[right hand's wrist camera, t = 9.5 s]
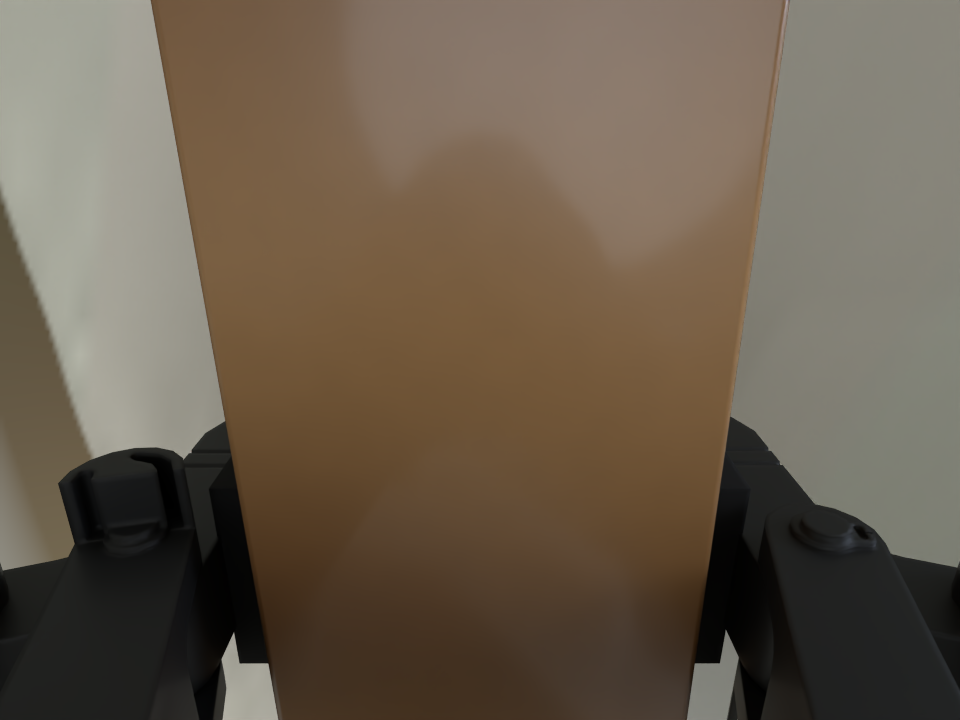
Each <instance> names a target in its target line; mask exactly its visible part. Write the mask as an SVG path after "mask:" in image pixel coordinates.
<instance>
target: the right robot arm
mask: <svg viewBox="0 0 960 720" xmlns="http://www.w3.org/2000/svg"><path fill="white" fill-rule="evenodd" d="M58 485H59V488H60V492H61V496H62V499H63V503H64V506H65V510H66V514H67V517H68V521H69V525H70V528H71V532H72V535H73V539H74V543H75V545H74V547H73V549H72V551H71V553H70V555H69V557H67V558H63V559H59V560H55V561H50V562H45V563H40V564H34V565H30V566H24V567H20V568H14V569H9V570H4V571H3V570H2V567H1V564H0V720H222V719H223V711H224V703H225V695H226V683H225V676H224V670H223V665H222V660H221V659H222V657H223V655H224V652H225V650H226V648H227V646H228V644H229V641H230V639H231V637H232V635H233V633H234V634H235V640H236V645H237V651H238V656H239V662H240V663H268V658H267V652H266V647H265V641H264V635H263V630H262V624H261V618H260V613H259V607H258V602H257V596H256V590H255V585H254V579H253V573H252V568H251V562H250V556H249V551H248V545H247V540H246V534H245V528H244V523H243V517H242V511H241V506H240V500H239V494H238V489H237V483H236V478H235V472H234V466H233V461H232V455H231V449H230V444H229V438H228V432H227V427H226V421H225V422H223V423H222V424H220V425H218V426H217V427H215V428H213V429H212V430H210V431H208V432H207V433H205V434H204V436H203V437H202V438H201V439H200V440H199V442H198V443H197V444H196V445H195V447H194V448H193V449H192V453H189V454H188V455H187V456H186V458H185V459H184V460H183V458H182V457H181V456H179V455H178V454H177V453H175V452H174V451H171V450H166V449H161V448H133V449H128V450H123V451H117V452H112V453H109V454H106V455H104V456H101V457H98V458H95V459H92V460H89V461H88V462H86V463H84V464H82V465H80V466H79V467H77V468H75V469H73V470H72V471H70V472H69V473H68V474H67V475H66V476H65V477H64V478H63V479H62V480H61V481H60V482H59V483H58ZM726 630H727V633H728V635H729V637H730V639H731V641H732V643H733V646H734V648H735V650H736V652H737V654H738V656H739V660H738V665H737V670H736V675H735V681H734V686H733V691H732V696H731V701H730V707H729V712H728V717H727V720H737V719H738V720H960V562H959V565H958V568H956V567H951V566H946V565H941V564H936V563H931V562H926V561H920V560H915V559H910V558H905V557H901V556H897V555H893V554H891V553H890V551H889V549H888V547H887V545H886V543H885V542H884V541H883V540H882V538H881V537H880V536H879V535H878V534H877V532H876V531H875V530H874V529H872V528H871V527H869V526H868V525H866V524H865V523H863V522H862V521H860V520H859V519H858V518H856V517H853V516H851V515H849V514H846V513H844V512H841V511H839V510H836V509H833V508H829V507H824V506H820V505H815V504H814V503H813V501H812V500H811V499H810V498H809V497H808V495H807V494H806V493H805V492H804V491H803V489H802V488H801V487H800V486H799V484H798V483H797V482H796V481H795V480H794V478H793V477H792V476H791V475H790V474H789V472H788V471H787V470H786V469H785V467H784V466H783V465H780V461H779V460H778V459H777V458H776V456H775V455H774V454H773V453H772V452H771V451H768V447H767V446H766V444H765V443H764V442H763V441H762V439H761V438H760V437H759V436H758V435H757V433H756V432H755V431H754V430H752V429H750V428H749V427H747V426H745V425H744V424H742V423H740V422H739V421H737V420H735V419H734V418H732V417H730V421H729V428H728V435H727V442H726V449H725V456H724V463H723V470H722V477H721V484H720V491H719V498H718V505H717V512H716V519H715V526H714V533H713V540H712V547H711V553H710V560H709V567H708V574H707V581H706V588H705V595H704V602H703V609H702V616H701V623H700V630H699V637H698V644H697V651H696V658H695V663H720V659H721V654H722V648H723V642H724V637H725V631H726Z"/></svg>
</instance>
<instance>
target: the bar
mask: <svg viewBox="0 0 960 720" xmlns="http://www.w3.org/2000/svg"><path fill="white" fill-rule="evenodd" d="M789 3H790V0H151V4H152V10H153V15H154V21H155V27H156V32H157V38H158V43H159V49H160V55H161V60H162V66H163V72H164V77H165V83H166V89H167V94H168V100H169V105H170V111H171V117H172V122H173V128H174V134H175V139H176V145H177V151H178V156H179V162H180V167H181V173H182V179H183V184H184V190H185V196H186V201H187V207H188V213H189V218H190V224H191V230H192V235H193V241H194V246H195V252H196V258H197V263H198V269H199V275H200V280H201V286H202V292H203V297H204V303H205V308H206V314H207V320H208V325H209V331H210V337H211V342H212V348H213V354H214V359H215V365H216V370H217V376H218V382H219V387H220V393H221V399H222V404H223V410H224V416H225V421H226V427H227V432H228V438H229V444H230V449H231V455H232V461H233V466H234V472H235V478H236V483H237V489H238V494H239V500H240V506H241V511H242V517H243V523H244V528H245V534H246V540H247V545H248V551H249V556H250V562H251V568H252V573H253V579H254V585H255V590H256V596H257V602H258V607H259V613H260V618H261V624H262V630H263V635H264V641H265V647H266V652H267V658H268V664H269V669H270V675H271V680H272V686H273V692H274V697H275V703H276V709H277V714H278V720H687V714H688V707H689V700H690V693H691V686H692V679H693V672H694V665H695V658H696V651H697V644H698V637H699V630H700V623H701V616H702V609H703V602H704V595H705V588H706V581H707V574H708V567H709V560H710V553H711V547H712V540H713V533H714V526H715V519H716V512H717V505H718V498H719V491H720V484H721V477H722V470H723V463H724V456H725V449H726V442H727V435H728V428H729V421H730V414H731V407H732V400H733V393H734V386H735V379H736V372H737V365H738V358H739V351H740V344H741V337H742V330H743V323H744V317H745V310H746V303H747V296H748V289H749V282H750V275H751V268H752V261H753V254H754V247H755V240H756V233H757V226H758V219H759V212H760V205H761V198H762V191H763V184H764V177H765V170H766V163H767V156H768V149H769V142H770V135H771V128H772V121H773V114H774V107H775V100H776V93H777V87H778V80H779V73H780V66H781V59H782V52H783V45H784V38H785V31H786V24H787V17H788V10H789Z"/></svg>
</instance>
